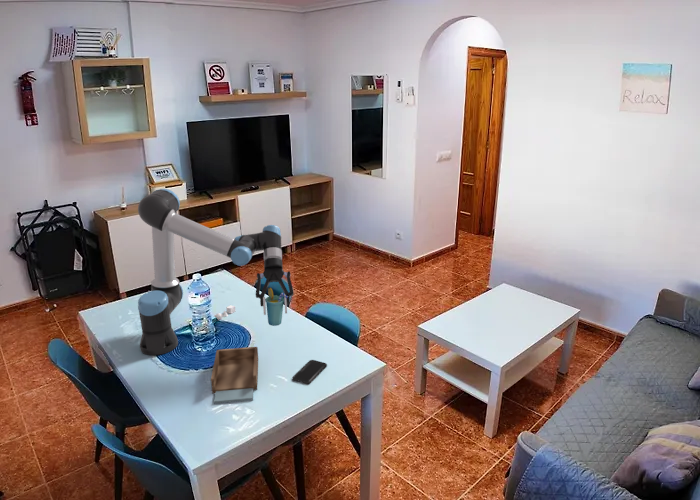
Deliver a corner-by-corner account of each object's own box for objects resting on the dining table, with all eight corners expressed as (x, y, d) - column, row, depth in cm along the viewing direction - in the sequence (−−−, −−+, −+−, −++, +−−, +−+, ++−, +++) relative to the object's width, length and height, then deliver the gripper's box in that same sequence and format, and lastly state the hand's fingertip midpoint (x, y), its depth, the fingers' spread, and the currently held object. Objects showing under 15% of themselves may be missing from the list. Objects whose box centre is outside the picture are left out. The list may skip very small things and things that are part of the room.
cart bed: (212, 393, 185) (210, 379, 183) (217, 362, 204) (216, 349, 202) (257, 389, 187) (256, 375, 185) (258, 359, 206) (257, 346, 204)
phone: (327, 363, 202) (308, 383, 189) (327, 366, 202) (309, 385, 190) (310, 359, 205) (290, 378, 192) (310, 361, 206) (291, 380, 193)
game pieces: (230, 310, 250) (230, 304, 249) (235, 312, 249) (235, 306, 248) (213, 320, 240) (213, 314, 239) (219, 321, 239) (218, 315, 238)
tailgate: (216, 393, 184) (214, 403, 179) (215, 391, 184) (214, 401, 179) (253, 390, 186) (253, 400, 181) (253, 388, 186) (252, 397, 180)
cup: (294, 327, 204) (295, 292, 200) (279, 333, 199) (279, 298, 194) (273, 314, 214) (273, 282, 209) (258, 320, 208) (257, 286, 203)
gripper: (297, 263, 216) (301, 314, 206) (248, 265, 213) (249, 317, 203) (298, 255, 209) (301, 308, 199) (247, 258, 206) (248, 311, 196)
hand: (275, 312), depth 201 cm, fingers closed on cup, 8 cm apart
